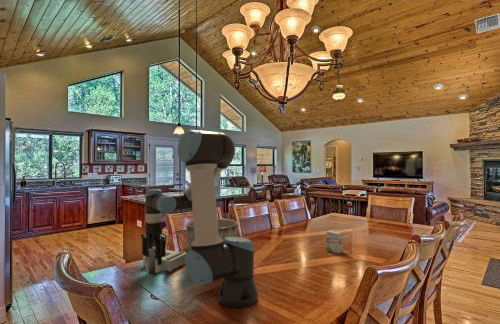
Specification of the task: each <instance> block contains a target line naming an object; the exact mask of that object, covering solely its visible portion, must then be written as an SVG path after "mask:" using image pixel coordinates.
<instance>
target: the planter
mask: <svg viewBox="0 0 500 324" xmlns="http://www.w3.org/2000/svg"><path fill="white" fill-rule="evenodd" d="M217 221H218V233H219V237H220V238H221V239H223V240H224V238H226V237H238V226H239V223H238V221H236V220H234V219H230V218H218V217H217ZM185 225H186V242H187V247H188V251H187V252H189V251H190V250H191V243H192V242H193V241H194V239H195V237H194V223H193V220H190V221H188V222H187V223H185Z"/></svg>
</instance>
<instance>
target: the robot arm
mask: <svg viewBox="0 0 500 324" xmlns="http://www.w3.org/2000/svg"><path fill="white" fill-rule="evenodd" d="M177 144H178V145H177V156H178V160H179V161H180V162H182V163H184V164H185V165H184V166H185V169H186V170H187V171H189V178H190V185H189V186H188V187H187V189H186V190H185V191H184V193H175V194H174V193H171V194H163V190H162V189H160V188H152V189H150V188H149V189H146V191H145V217H144V218H145V220H144V221H145V224H144V225H145V226H144V227H145V228H144V229H145V231H146V232H145V233H142V234H141V235H140V237H141V255H142V256H145V257H146V263H147V267H146V272H148V258H149V250H148V248H150V247H153V245H154V247H155V249H156V255H157V258H156V259H155V273H157V272H159V273H160V272H161V271H162V270H161V264H162V257H164V256H165V252H166V250H167V249H166V245H167V244H166V243H167V242H166V241H167V235H163V233H162V229H163V222H162V221H163V214H166V213H167V214H169V213H172V212H174V211H176V212H177V211H181V210H192V221H193V223H194V237H195V239H194V241H193V242H192V243H191V250H190V251H189V252H188V251H186V253H187V254H186V257H185V264H184V265H185V269H186V272H187V275H188V277H189V278H190V279H191V281H192V282H194V283H195V284H197V285H204V284H211V283H212V282H215V281H218V280H220V279H221V280H222V283H221V285H220V289H219V291H218V301H219V303H220V302H221V303H222V304H221V303H220V304H221V305H223V304H224V305H223V306H225V305H226V306H225V307H228V306H230V307H229V308H233V307H242V308H247V307H246V306H248V307H251V306H252V304H253V305H255V304H257V301H258V300H259V292H258V287H257V285H256V281H255V279H254V278H255V277H254V275H255V273H254V272H255V271H254V267H255V266H254V264H255V262H254V259H255V258H254V256H255V254H254V253H255V250H254V242H253V241H252V240H251V239H249V238H245V237H241V236H237V237H226V238H224V240H223V239H221V238H220V237H219V233H218V221H217V218H218V211H217V200H216V199H217V196H216V186H215V180H216V179H217V177H218V176H219V175H220V174H221V173H222V171H223V170H226V169H228V167H229V166H230V165H231V164H232V162H233V160H234V158H235V154H236V146H235V143H234V140H233V139H232V138H231V136H229V135H228V134H226V133H223V132H218V131H207V130H200V129H196V130H195V129H189V130H186V131H185V132H184V133H182V135H181V136H180V139H179V140H178V143H177ZM254 303H255V304H254ZM250 305H251V306H250Z"/></svg>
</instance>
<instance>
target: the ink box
mask: <svg viewBox="0 0 500 324" xmlns="http://www.w3.org/2000/svg"><path fill="white" fill-rule="evenodd" d="M343 234H344V233H343V232H342V231H339V230H338V231H337V230H334V229H333V230H332V229H329V230H327V231H326V233H325V235H326V238H325V240H326V241H325V242H326V247H325V248H326V252H332V253H335V254H341V253H343V251H344V250H343V248H344V245H343V243H344V242H343V241H344V238H343V237H344V236H343Z"/></svg>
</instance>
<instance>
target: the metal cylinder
mask: <svg viewBox="0 0 500 324" xmlns="http://www.w3.org/2000/svg"><path fill="white" fill-rule="evenodd" d="M148 250H149V258H148V271H147V273H149V274H156V275H158V274H159V273H160V271H159V272H157V273H158V274H157V273H155V259H156V258H157V255H156V249H155V246H152V247H150V248H148ZM149 274H148V275H149Z"/></svg>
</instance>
